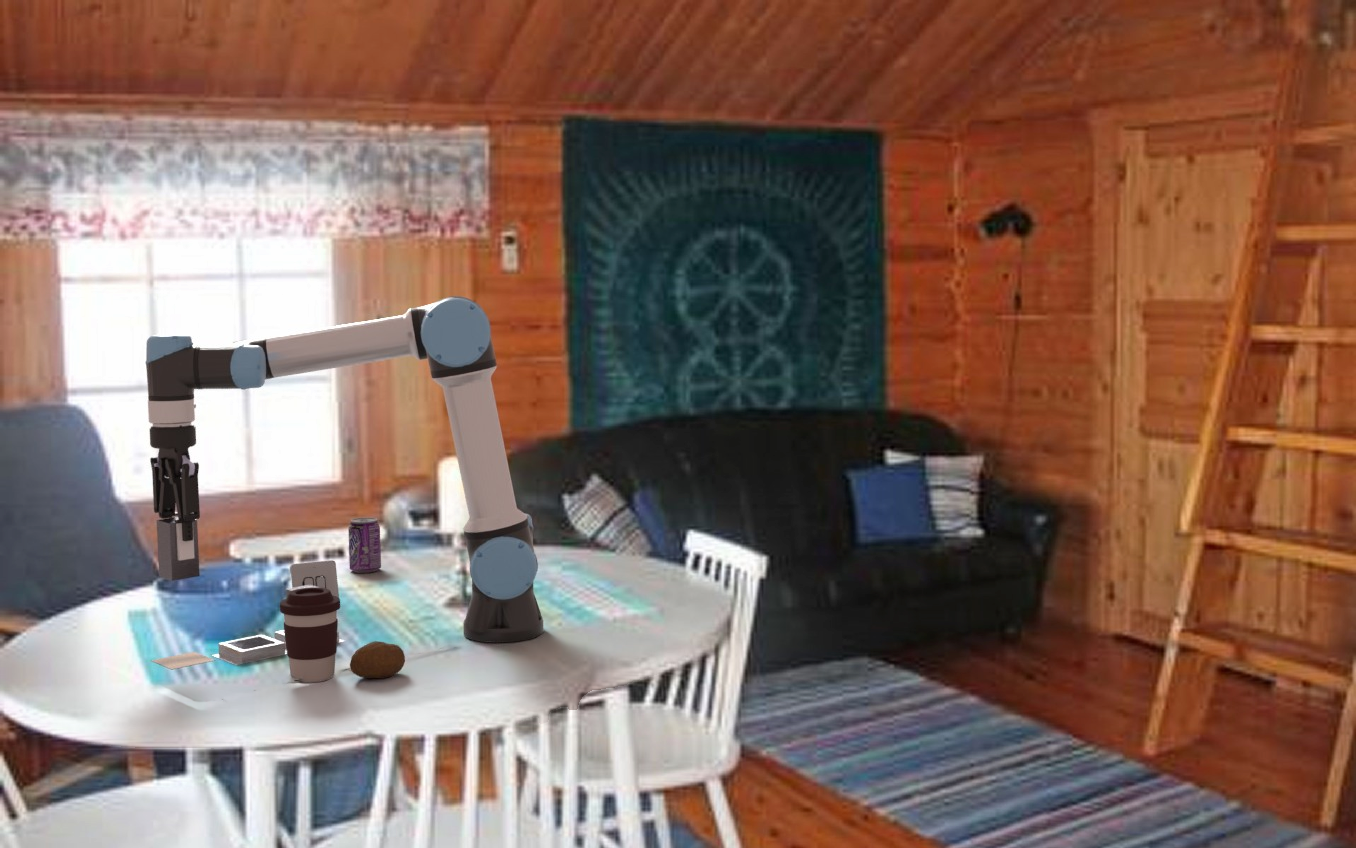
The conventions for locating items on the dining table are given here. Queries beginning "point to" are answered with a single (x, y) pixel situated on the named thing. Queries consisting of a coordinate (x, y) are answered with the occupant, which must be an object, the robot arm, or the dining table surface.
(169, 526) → the block
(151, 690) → the dining table surface
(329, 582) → the electrical switch
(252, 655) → the white recessed tray
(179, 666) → the walnut pad
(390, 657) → the potato
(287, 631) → the coffee cup
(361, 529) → the beverage can
